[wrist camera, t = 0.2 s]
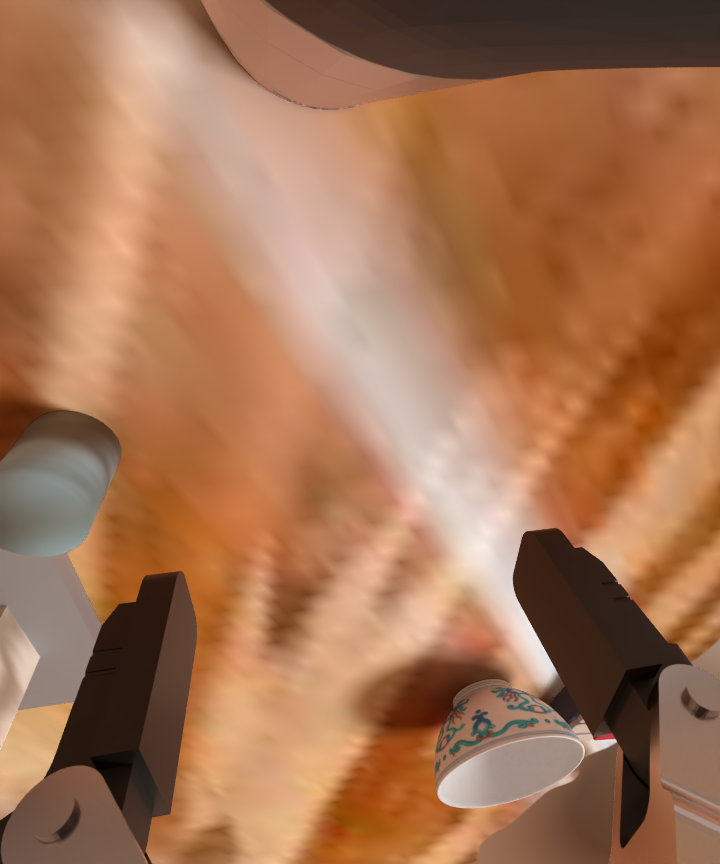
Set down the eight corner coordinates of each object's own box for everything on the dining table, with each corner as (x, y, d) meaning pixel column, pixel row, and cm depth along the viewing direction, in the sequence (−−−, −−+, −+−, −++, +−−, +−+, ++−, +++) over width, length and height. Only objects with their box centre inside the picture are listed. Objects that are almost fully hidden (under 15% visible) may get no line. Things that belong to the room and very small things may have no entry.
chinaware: (569, 680, 53) (610, 755, 47) (468, 739, 58) (493, 816, 51) (497, 639, 46) (534, 721, 40) (388, 711, 50) (405, 795, 44)
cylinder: (10, 414, 25) (-53, 484, 20) (107, 407, 26) (70, 474, 21) (43, 485, 28) (-5, 562, 23) (130, 477, 29) (102, 550, 24)
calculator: (551, 747, 55) (622, 683, 47) (535, 708, 58) (598, 642, 50) (626, 741, 58) (705, 680, 50) (606, 705, 61) (677, 641, 53)
